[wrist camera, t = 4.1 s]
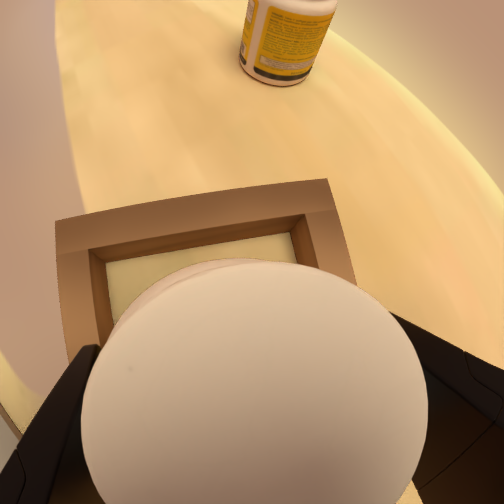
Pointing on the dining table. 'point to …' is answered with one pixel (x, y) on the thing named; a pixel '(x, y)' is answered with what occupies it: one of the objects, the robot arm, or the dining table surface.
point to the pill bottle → (254, 392)
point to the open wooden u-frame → (187, 241)
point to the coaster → (7, 437)
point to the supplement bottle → (283, 38)
